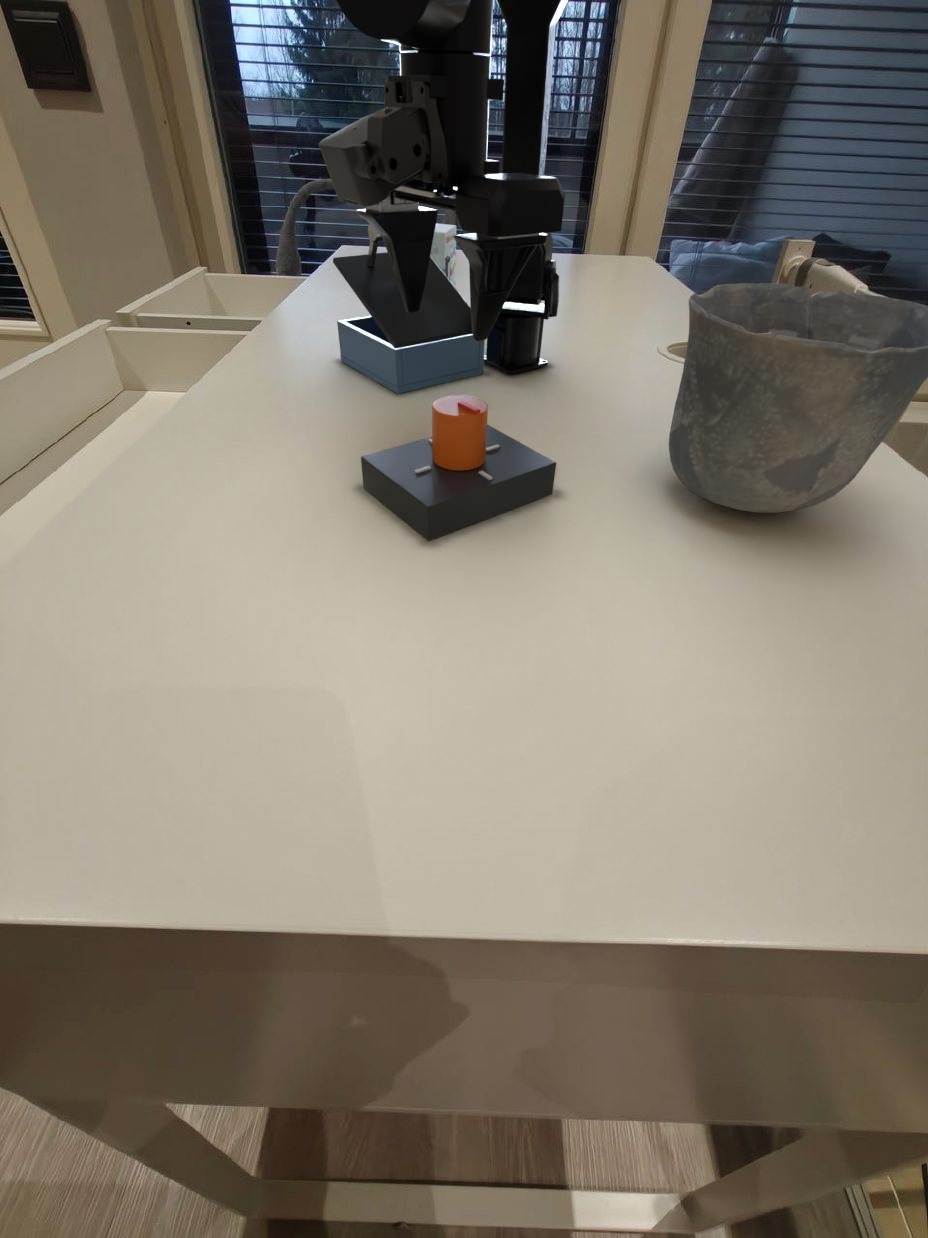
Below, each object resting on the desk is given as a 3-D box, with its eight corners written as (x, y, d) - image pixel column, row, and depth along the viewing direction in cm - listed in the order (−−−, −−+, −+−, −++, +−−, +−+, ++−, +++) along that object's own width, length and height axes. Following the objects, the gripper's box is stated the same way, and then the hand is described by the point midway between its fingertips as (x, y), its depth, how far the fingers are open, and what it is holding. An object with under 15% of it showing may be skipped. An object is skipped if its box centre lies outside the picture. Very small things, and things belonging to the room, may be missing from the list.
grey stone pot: (761, 441, 61) (823, 275, 51) (911, 530, 48) (1032, 333, 38) (610, 464, 56) (647, 286, 46) (735, 570, 43) (823, 356, 33)
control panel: (481, 451, 57) (482, 419, 55) (552, 494, 51) (557, 460, 49) (363, 488, 51) (360, 454, 49) (428, 541, 45) (427, 505, 43)
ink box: (444, 322, 91) (445, 231, 83) (413, 320, 91) (411, 229, 83) (456, 308, 97) (457, 223, 89) (427, 306, 98) (426, 221, 90)
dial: (421, 455, 49) (420, 398, 46) (462, 442, 51) (464, 386, 48) (454, 476, 47) (455, 416, 44) (496, 461, 49) (499, 403, 46)
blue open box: (341, 361, 76) (336, 320, 73) (422, 345, 82) (421, 307, 79) (397, 393, 68) (395, 349, 65) (483, 373, 74) (485, 332, 71)
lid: (332, 262, 68) (337, 214, 64) (423, 252, 74) (433, 208, 70) (394, 348, 65) (404, 304, 60) (484, 331, 71) (499, 290, 66)
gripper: (262, 51, 39) (299, 312, 49) (421, 38, 28) (426, 378, 38) (406, 62, 44) (412, 295, 54) (588, 54, 33) (553, 350, 43)
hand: (444, 325), depth 47 cm, fingers open, 9 cm apart
